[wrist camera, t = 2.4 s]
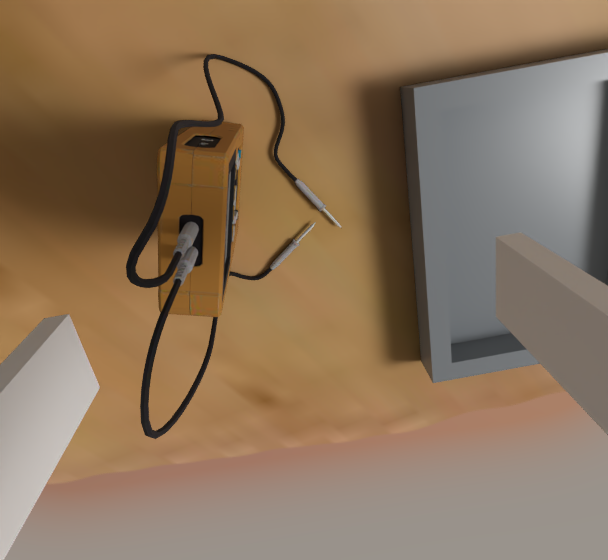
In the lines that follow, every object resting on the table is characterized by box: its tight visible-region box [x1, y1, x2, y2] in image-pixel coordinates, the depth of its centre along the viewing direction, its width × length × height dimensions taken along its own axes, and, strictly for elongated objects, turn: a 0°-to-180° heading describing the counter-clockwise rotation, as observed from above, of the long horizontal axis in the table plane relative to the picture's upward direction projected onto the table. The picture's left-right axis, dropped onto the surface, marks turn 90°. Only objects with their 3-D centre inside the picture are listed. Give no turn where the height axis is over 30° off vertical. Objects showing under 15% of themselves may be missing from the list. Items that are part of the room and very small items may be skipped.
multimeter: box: [126, 54, 341, 439], centre depth 22 cm, size 15×10×20 cm
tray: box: [400, 49, 608, 383], centre depth 32 cm, size 18×21×3 cm
